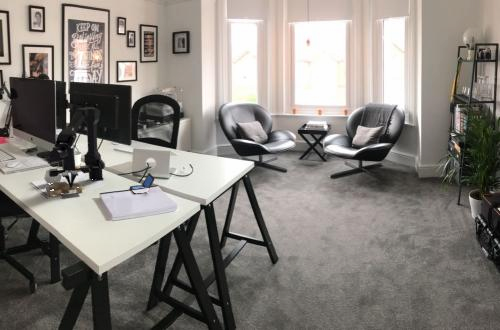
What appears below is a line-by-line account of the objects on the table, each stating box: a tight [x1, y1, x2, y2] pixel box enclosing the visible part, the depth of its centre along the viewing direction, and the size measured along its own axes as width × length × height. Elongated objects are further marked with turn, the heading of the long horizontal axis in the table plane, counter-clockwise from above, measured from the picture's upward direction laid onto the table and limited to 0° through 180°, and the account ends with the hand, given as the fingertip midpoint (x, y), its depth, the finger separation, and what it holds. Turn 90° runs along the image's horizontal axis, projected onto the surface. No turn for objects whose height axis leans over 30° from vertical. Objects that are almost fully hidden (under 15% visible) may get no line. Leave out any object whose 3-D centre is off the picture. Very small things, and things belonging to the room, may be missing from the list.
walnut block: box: [52, 181, 70, 194], centre depth 215 cm, size 6×6×4 cm
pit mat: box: [60, 192, 80, 199], centre depth 210 cm, size 8×6×1 cm
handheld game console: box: [129, 172, 155, 190], centre depth 221 cm, size 12×11×7 cm
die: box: [43, 169, 63, 184], centre depth 230 cm, size 8×9×10 cm
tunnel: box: [45, 182, 83, 198], centre depth 216 cm, size 16×11×3 cm
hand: (71, 187), depth 218 cm, fingers closed
